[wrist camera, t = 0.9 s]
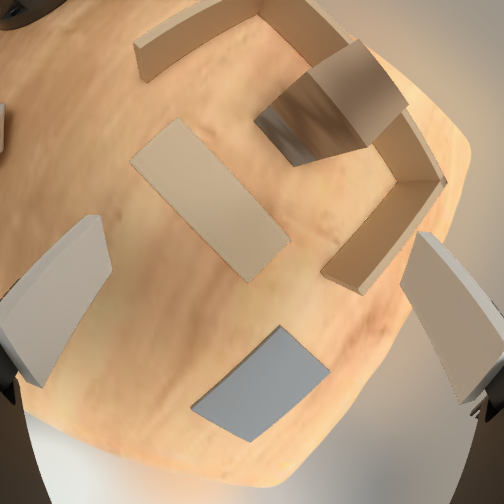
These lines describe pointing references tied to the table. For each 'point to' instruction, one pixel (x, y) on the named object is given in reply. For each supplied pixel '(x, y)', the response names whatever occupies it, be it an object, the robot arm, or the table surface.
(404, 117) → the cardboard walls
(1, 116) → the die
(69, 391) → the table surface
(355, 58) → the reflective metal box
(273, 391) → the mat
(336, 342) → the table surface
